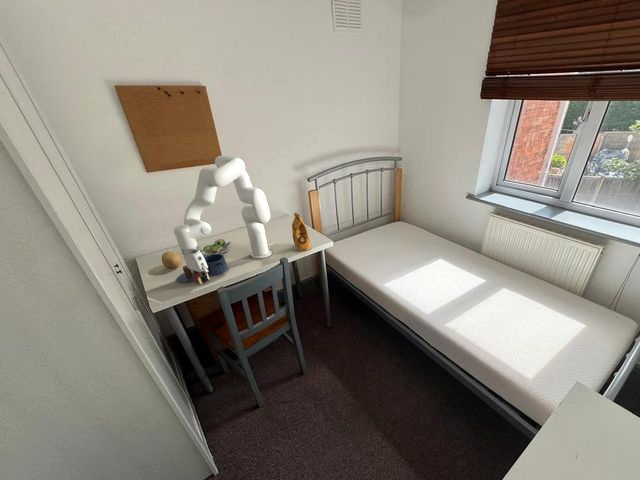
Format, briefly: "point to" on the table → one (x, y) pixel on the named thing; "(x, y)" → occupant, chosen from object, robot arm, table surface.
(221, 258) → the pot
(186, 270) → the lid
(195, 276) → the meat
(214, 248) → the salad plate
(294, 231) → the coffee package
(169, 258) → the potato
